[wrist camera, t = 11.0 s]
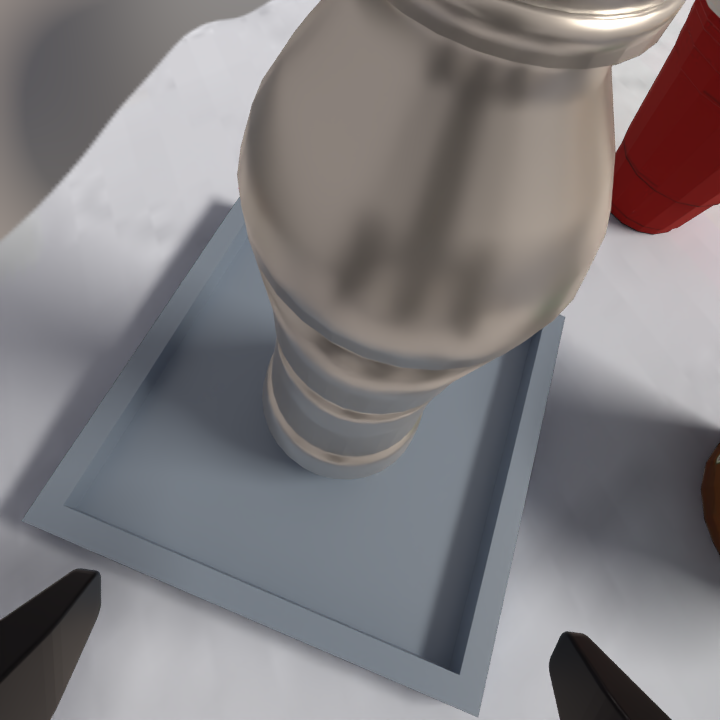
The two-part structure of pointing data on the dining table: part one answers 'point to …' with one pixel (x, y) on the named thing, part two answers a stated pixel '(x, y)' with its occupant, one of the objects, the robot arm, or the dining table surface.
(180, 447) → the blue-gray tray
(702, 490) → the food container
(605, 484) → the dining table surface
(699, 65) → the plastic cup
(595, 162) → the plastic bottle
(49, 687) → the robot arm
